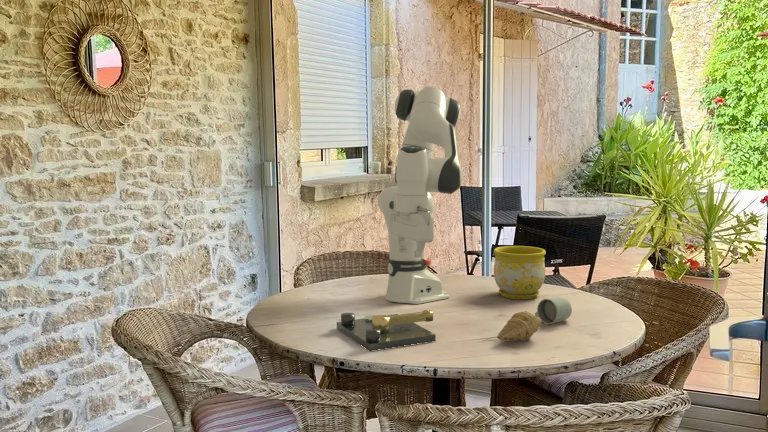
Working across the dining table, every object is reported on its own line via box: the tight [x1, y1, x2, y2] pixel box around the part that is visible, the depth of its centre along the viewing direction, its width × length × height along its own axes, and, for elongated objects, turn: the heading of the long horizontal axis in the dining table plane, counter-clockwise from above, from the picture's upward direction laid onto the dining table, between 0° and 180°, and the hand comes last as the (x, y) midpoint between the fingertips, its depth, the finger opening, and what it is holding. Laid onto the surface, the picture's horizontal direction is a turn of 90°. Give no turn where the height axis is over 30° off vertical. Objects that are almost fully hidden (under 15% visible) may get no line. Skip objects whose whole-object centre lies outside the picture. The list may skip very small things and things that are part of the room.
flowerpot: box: [493, 245, 547, 300], centre depth 240 cm, size 18×18×16 cm
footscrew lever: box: [372, 309, 434, 332], centre depth 195 cm, size 19×5×4 cm, turn 115°
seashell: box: [496, 310, 542, 342], centre depth 187 cm, size 14×8×8 cm, turn 132°
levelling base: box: [336, 312, 437, 352], centre depth 195 cm, size 20×24×5 cm
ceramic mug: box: [534, 296, 572, 325], centre depth 208 cm, size 11×8×8 cm
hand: (410, 254), depth 189 cm, fingers open, 8 cm apart
